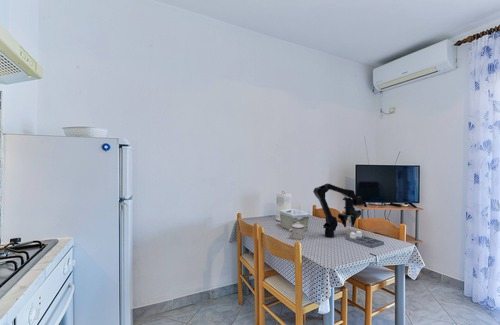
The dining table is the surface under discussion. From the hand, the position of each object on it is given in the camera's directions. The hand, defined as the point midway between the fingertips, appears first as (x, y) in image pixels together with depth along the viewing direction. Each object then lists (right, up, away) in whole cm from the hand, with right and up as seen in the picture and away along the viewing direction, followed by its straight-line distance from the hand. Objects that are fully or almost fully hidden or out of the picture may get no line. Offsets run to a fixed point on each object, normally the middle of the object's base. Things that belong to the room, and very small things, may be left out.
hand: (349, 226), depth 185 cm
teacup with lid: (-41, -8, -4) cm, 42 cm away
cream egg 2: (+3, -6, -9) cm, 12 cm away
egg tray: (+4, -7, -16) cm, 18 cm away
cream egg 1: (-2, -7, -12) cm, 14 cm away
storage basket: (-38, -8, +22) cm, 45 cm away
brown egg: (0, -7, 0) cm, 7 cm away
